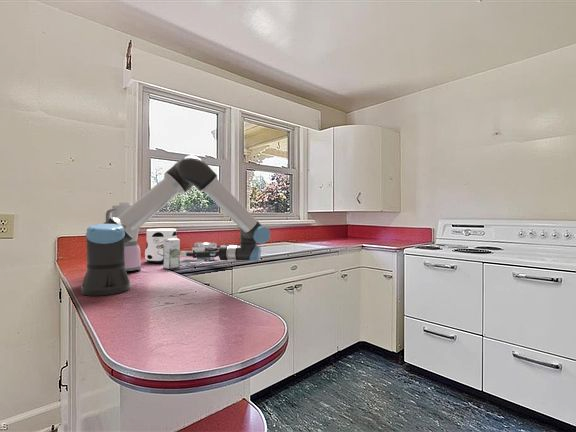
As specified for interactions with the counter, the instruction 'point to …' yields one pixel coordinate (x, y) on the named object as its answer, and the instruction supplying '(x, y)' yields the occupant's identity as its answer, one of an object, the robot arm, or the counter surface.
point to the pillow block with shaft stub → (205, 245)
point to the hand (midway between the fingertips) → (186, 252)
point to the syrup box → (171, 253)
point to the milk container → (157, 243)
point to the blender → (132, 246)
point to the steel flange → (187, 262)
